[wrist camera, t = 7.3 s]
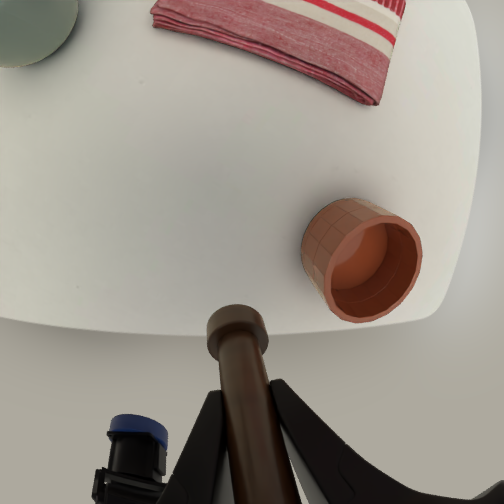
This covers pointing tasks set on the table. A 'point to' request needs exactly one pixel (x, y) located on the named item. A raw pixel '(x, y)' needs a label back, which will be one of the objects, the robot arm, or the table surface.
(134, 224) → the table surface
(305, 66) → the dish towel
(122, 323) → the table surface
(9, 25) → the cup
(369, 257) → the bowl
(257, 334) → the dark brown collared rod
